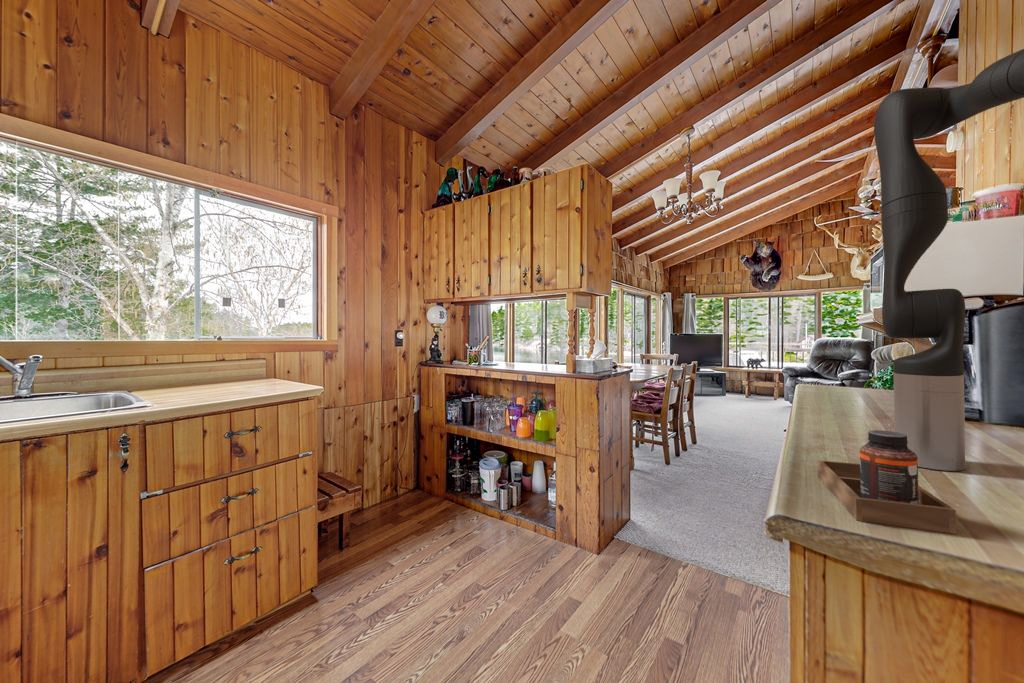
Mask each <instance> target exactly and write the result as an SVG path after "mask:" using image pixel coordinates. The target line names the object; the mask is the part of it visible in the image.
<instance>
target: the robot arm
mask: <svg viewBox="0 0 1024 683" xmlns="http://www.w3.org/2000/svg"><path fill="white" fill-rule="evenodd" d="M1021 99H1024V48H1022V49H1019V50H1017V51H1015V52H1013V53H1010V54H1009V55H1006V56H1005V57H1002V58H1000V59H998V60H996V61H994V62H992V63H991V64H990V65H988V66H986V67H985V68H984V69H982V71H981V72H979V73H978V74H977V75H976V76H975V77H974V79H973V80H972V82H969V83H967V84H963V85H959V86H953V87H945V88H944V87H935V86H934V87H933V86H931V87H912V88H911V87H910V88H903V89H896V90H894V91H892V92H890V93H888V94H887V95H886V96H884V98H883V99H882V100H881V102H880V103H879V105H878V108H877V110H876V112H875V116H874V122H873V134H874V142H875V149H876V154H877V158H878V165H879V176H880V177H879V178H880V191H881V195H880V196H881V197H880V198H881V199H880V200H881V203H880V217H881V219H880V220H881V222H880V223H881V232H882V245H883V246H882V249H883V286H882V289H883V290H882V304H881V305H882V306H881V308H882V309H881V319H882V320H881V322H882V327H883V328H882V329H883V332H884V333H885V335H886V336H887V337H888V338H890V339H937V341H936V343H935V344H934V345H932V346H931V347H930V348H927V349H925V350H923V351H920V352H917V353H912V354H908V355H905V356H904V355H903V356H899V357H898V358H895V359H894V360H893V364H892V365H893V367H892V368H893V369H892V370H893V371H892V372H893V410H894V411H893V415H894V417H893V418H894V422H893V423H894V432H899V433H903V434H905V435H907V442H908V444H907V447H908V449H909V450H911V451H913V452H914V453H915V454H916V455H917V459H918V468H924V469H930V470H937V471H951V472H952V471H955V472H957V471H958V472H959V471H963V470H965V469H966V423H965V422H966V419H965V418H966V415H965V414H966V413H965V412H966V411H965V379H964V378H965V375H964V372H965V370H964V368H965V367H964V336H965V334H964V333H965V322H966V302H965V297H964V295H963V293H962V291H960V290H958V289H956V288H938V289H937V288H936V289H923V290H922V289H921V290H911V291H910V290H907V291H906V290H905V287H906V286H905V285H906V282H907V280H908V278H909V276H910V274H911V272H912V271H913V269H914V268H915V266H916V265H917V264H918V262H919V260H920V259H921V258H922V256H923V255H924V254H925V253H926V251H927V250H928V249H929V248H930V247H931V246H932V245H933V243H935V241H936V240H937V239H938V237H940V235H941V234H942V233H943V230H944V229H945V228H946V226H947V224H948V221H949V209H948V208H949V206H948V204H949V203H948V192H947V187H946V186H945V183H944V182H943V180H942V179H941V177H940V176H939V174H937V173H936V172H935V171H934V169H933V168H932V167H931V166H930V165H929V164H928V163H927V162H926V161H925V160H924V159H923V157H922V156H921V155H920V153H919V152H918V149H917V148H916V145H915V141H914V140H920V139H921V140H922V139H926V138H930V137H933V136H934V135H937V134H939V133H941V132H943V131H946V130H948V129H949V128H951V127H953V126H956V125H957V124H960V123H962V122H963V121H966V120H968V119H970V118H972V117H974V116H976V115H978V114H981V113H983V112H986V111H987V110H990V109H993V108H996V107H999V106H1001V105H1005V104H1008V103H1011V102H1013V101H1014V102H1015V101H1018V100H1021Z"/></svg>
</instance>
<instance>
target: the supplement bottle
mask: <svg viewBox="0 0 1024 683" xmlns="http://www.w3.org/2000/svg"><path fill="white" fill-rule="evenodd" d="M867 433H868V434H867V436H868V437H867V440H868V441H867V443H865V444H863V445H862V446H860V448H859V449H860V450H859V464H860V480H861V481H860V482H861V498H868V499H877V500H885V501H894V502H903V503H911V504H919V496H918V495H919V492H918V485H919V467H918V459H917V455H916V454H915V453H914V452H913V451H911V450H909V449H908V447H907V444H908V442H907V435H905V434H903V433H899V432H895V431H892V430H891V431H890V430H880V429H877V430H876V429H875V430H874V429H873V430H869V431H868V432H867Z"/></svg>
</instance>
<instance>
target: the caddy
mask: <svg viewBox="0 0 1024 683" xmlns="http://www.w3.org/2000/svg"><path fill="white" fill-rule="evenodd" d="M817 478H818V479H819V480H820V481H821V482H822V483H823V484H824V485H825V487H826V488H827V489H828V490H829V491H830V493H832V494H833V496H834V497H835V498H836V499H837V500H838V501H839V502H840V503H841V505H842V506H843V508H845V509H846V511H848V513H849V514H850V515H851V516H852V518H854V519H855V521H858V522H865V523H871V524H881V525H887V526H895V527H902V528H907V529H908V528H911V529H915V530H926V531H934V532H937V533H939V532H940V533H947V534H954V535H956V534H957V523H956V522H957V520H956V519H957V518H956V515H957V514H956V513H957V512H956V509H955V508H953V507H951V505H948V504H947V503H945V502H944V501H943V500H941V499H940V498H938V497H937V496H935V495H933V494H932V493H931V492H929V491H927V490H926V489H924V488H923V487H922V486H920V485H919V484H918V492H919V495H918V496H919V504H911V503H903V502H894V501H885V500H877V499H868V498H861V482H860V481H861V480H860V463H854V462H842V461H831V460H821V459H820V460H819V459H817Z"/></svg>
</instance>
